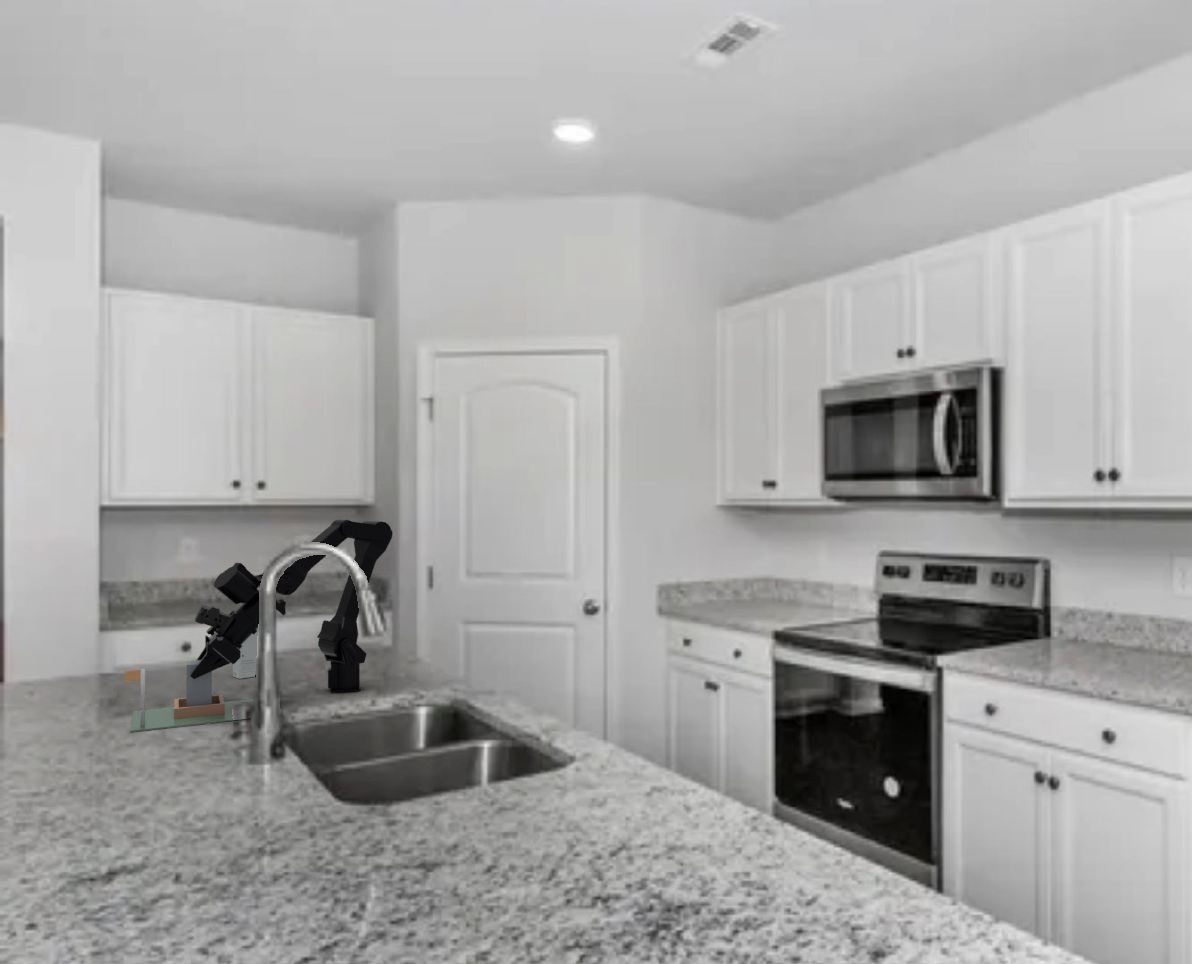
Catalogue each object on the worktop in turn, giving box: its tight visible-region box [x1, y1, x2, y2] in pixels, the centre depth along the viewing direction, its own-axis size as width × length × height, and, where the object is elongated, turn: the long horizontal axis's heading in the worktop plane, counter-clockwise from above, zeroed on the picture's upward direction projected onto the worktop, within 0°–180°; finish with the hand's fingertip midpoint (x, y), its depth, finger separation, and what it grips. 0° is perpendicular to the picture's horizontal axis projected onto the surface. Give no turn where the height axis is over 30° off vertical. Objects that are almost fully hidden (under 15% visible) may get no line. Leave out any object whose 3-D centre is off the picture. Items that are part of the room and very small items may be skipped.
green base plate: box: [124, 668, 254, 733], centre depth 177 cm, size 25×16×11 cm, turn 116°
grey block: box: [185, 659, 213, 707], centre depth 179 cm, size 5×5×10 cm
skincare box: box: [232, 629, 258, 680], centre depth 214 cm, size 6×4×12 cm
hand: (191, 674), depth 179 cm, fingers open, 5 cm apart
